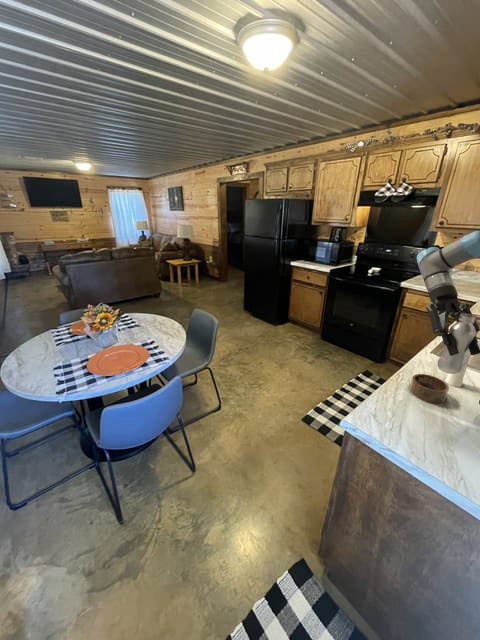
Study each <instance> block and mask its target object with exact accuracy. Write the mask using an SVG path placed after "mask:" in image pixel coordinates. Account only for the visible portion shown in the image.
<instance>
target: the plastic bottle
mask: <svg viewBox="0 0 480 640" xmlns="http://www.w3.org/2000/svg"><path fill="white" fill-rule="evenodd" d="M458 320H459V321H458V322H455V323H454V324H452V325H451V326H449V333H452V335H453V338H454V340H455V343H456V346H457V348H458V351H459V354H456V355H453V356H450V355H449V352H448V349H447V346H446V345H445V348H444V349H443V352H442V353H441V355H440V356H439V358H438V360H437V368H438V369H439V370H440V371H442V372H443V373H447V374H449V373H450V374H457V373H459V372H460V371H461V370H462V368H463V363H464V362H463V361H464V357H465V354H466V351H467V349H468V347H469V345H470V343H471V341H472V340H473V338H474V337H475V335H476V334H477V332H476V330H475V328H474V326H473V323H474V322H475V321H476V315H475V314H472V315H471V314H465V313H462V314H460V317H459V319H458ZM474 320H475V321H474ZM449 333H448V334H449Z"/></svg>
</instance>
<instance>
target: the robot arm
mask: <svg viewBox="0 0 480 640" xmlns="http://www.w3.org/2000/svg"><path fill="white" fill-rule="evenodd" d="M476 259H477V260H480V230H475V231H472V232H470V233H468V234H465V235H463V237H461V238H458V239H457V240H455V241H454V242H452V243H449V244H448V245H446V246H444V247H442V248H439V247H437V246H432V247H428V248H425V249H423V250H421V251H420V252H419V253H418V254H417V255H416V261H417V267H418V269H419V271H420V274H421V276H422V280H423V282H424V286H425V288H426V292H428V298H429V300H430V304H428V305H427V306H425V310H426V311H427V312H428V317H429V320H430V324H431V328H432V332H433V334H435V335H437V336H438V337H441V339H442V342H443V344H444V345H445V347H446V346H447V349H448V352H449V355H450V356H453V355H456V354H459V351H458V348H457V346H456V343H455V340H454V338H453V335H452V333H449V329H450V323H449V322H450V319H449V318H450V317H451V318H452V319H454V321H455V323H457V322H458V321H459V320H458V319H459V317H460V314H462V313H465V314H471V315H473V313H472V311H471V307H470V304H469V303H467V302H466V303H465V304H464V303H461V302H460V300H459V299H458V297H459V293H458V291H457V288H456V286H455V283H454V281H453V278H452V276H451V274H450V270H451V269H453V268H455V267H458V266H459V265H461V264H464V263H466V262H469V261H472V260H476ZM449 316H450V317H449ZM474 321H475V322H474V323H473V326H474V328H475V330H476V333H478V332H480V326H479V325H478V323H477V321H476V319H475V320H474ZM468 348H469V351H470V353H471V355H470V356H476V355H479V354H480V346H479V340H478V338H477V336H476V335H475V337H474V338H473V340H472V341H471V343H470V345H469V347H468Z"/></svg>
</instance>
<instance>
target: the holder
mask: <svg viewBox="0 0 480 640" xmlns="http://www.w3.org/2000/svg"><path fill="white" fill-rule="evenodd" d="M449 390H450V386H449V384H448V383H446V382H445V380H442V379H440V378H438V377H436V376H434V375H430V374H426V373H416V374H414V375H413V376H412V379H411V381H410V385H409V392H410V393H411V394H412V395H413V396H415V397H416V398H417V399H420V400H421V401H424V402H426V403H430V404H442V403H444V402H445V400H446V398H447V395H448V392H449Z"/></svg>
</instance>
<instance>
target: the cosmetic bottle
mask: <svg viewBox="0 0 480 640" xmlns="http://www.w3.org/2000/svg"><path fill="white" fill-rule="evenodd" d="M471 356H472V355H471V353H470V351H469V348H468V349H467V351H466V354H465V357H464V361H463V362H464V363H463V368H462V370H461V371H460V372H459V373H457V374H450V373H447V374H448V375H447V376H446V378H445V379H444V382H445V383H446V384H447V385H450V386H452V387H456V388H462V387H463V381H464V377H465V374H466V371H467V369H468V368H467V367H468V366H469V361H470V358H471Z"/></svg>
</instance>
